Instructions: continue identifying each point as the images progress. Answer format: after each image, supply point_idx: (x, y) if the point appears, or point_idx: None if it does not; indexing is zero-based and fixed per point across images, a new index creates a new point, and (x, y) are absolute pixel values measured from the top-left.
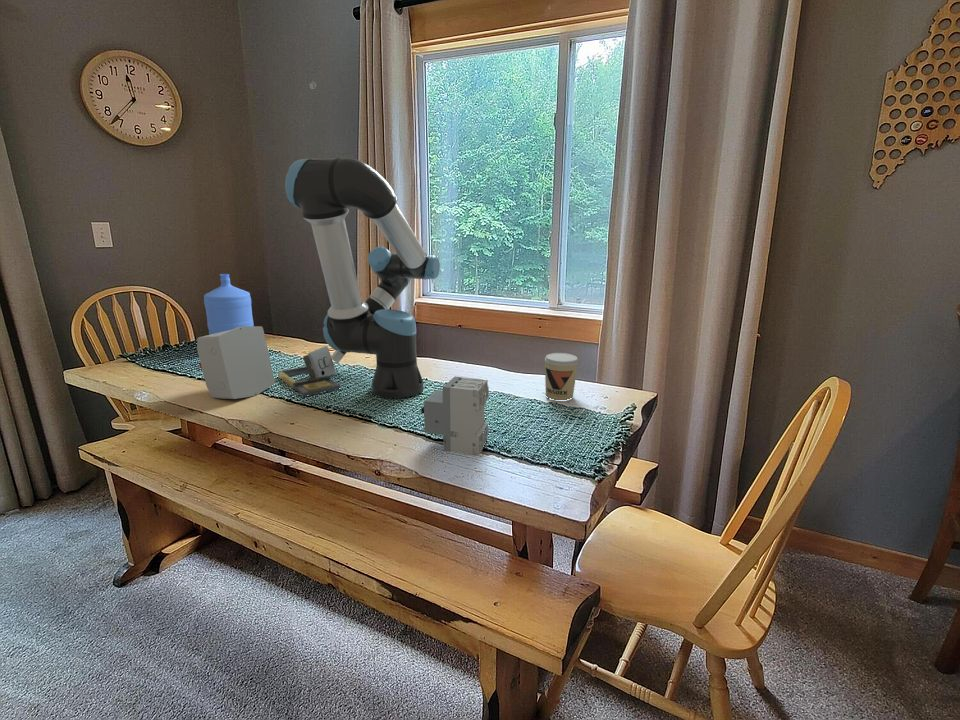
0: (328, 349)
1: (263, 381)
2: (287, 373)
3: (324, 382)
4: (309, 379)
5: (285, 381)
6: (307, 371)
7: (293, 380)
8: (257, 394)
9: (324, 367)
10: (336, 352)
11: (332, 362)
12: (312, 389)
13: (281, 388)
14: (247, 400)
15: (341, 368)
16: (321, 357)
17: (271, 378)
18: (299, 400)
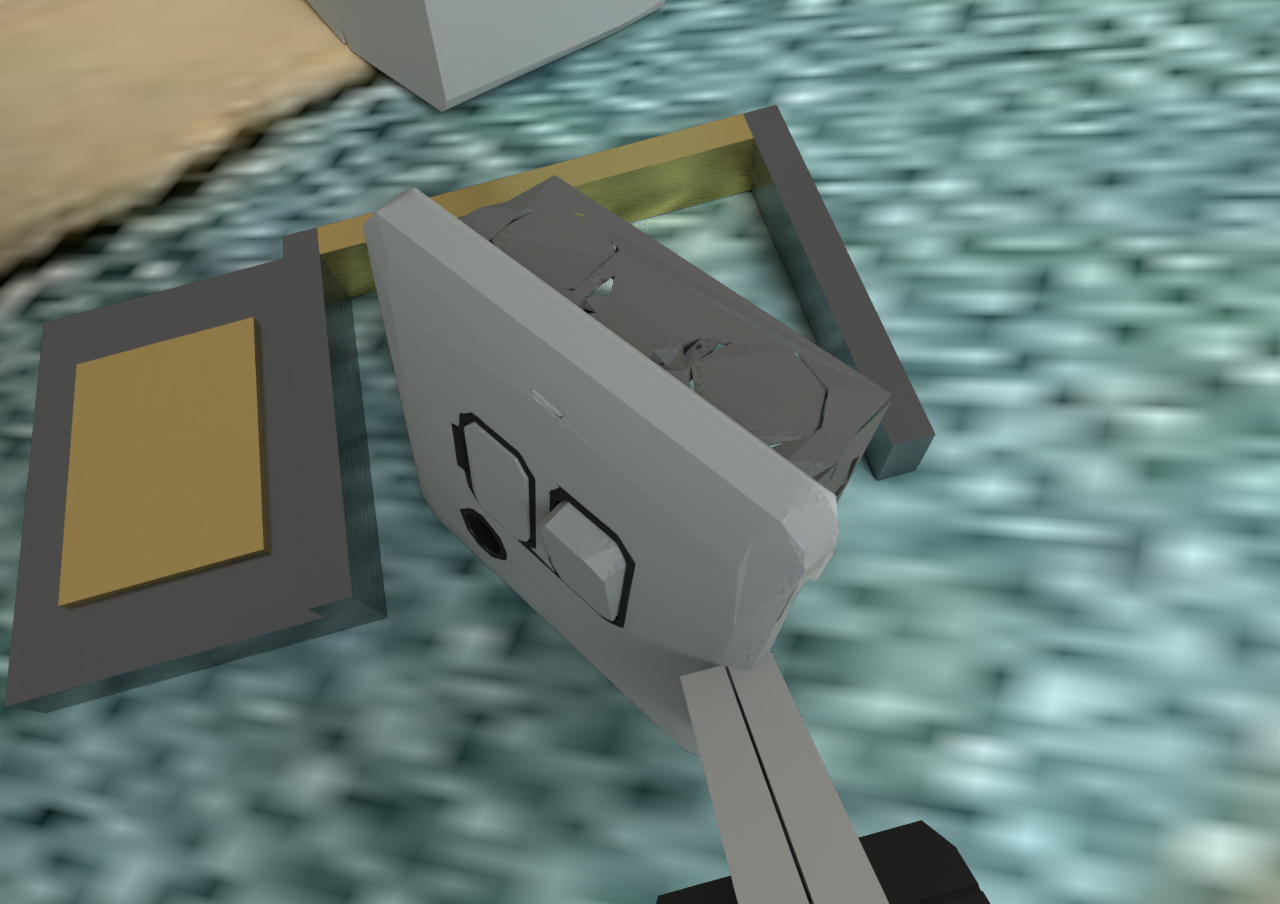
0: (775, 587)
1: (371, 3)
2: (769, 202)
3: (195, 529)
4: (322, 372)
5: None
6: None
7: None
8: (352, 50)
9: (532, 547)
10: (722, 777)
11: None
12: (76, 398)
13: (420, 188)
14: (275, 14)
15: None
16: (534, 454)
17: (420, 46)
18: (23, 311)
